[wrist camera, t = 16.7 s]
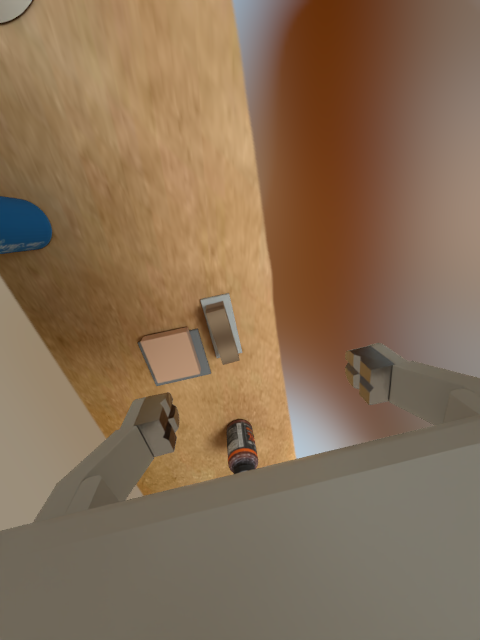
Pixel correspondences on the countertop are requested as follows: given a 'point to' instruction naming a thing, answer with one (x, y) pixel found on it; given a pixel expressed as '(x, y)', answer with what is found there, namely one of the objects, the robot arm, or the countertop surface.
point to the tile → (171, 354)
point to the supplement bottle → (241, 447)
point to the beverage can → (22, 226)
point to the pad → (229, 310)
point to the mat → (200, 354)
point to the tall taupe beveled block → (222, 332)
